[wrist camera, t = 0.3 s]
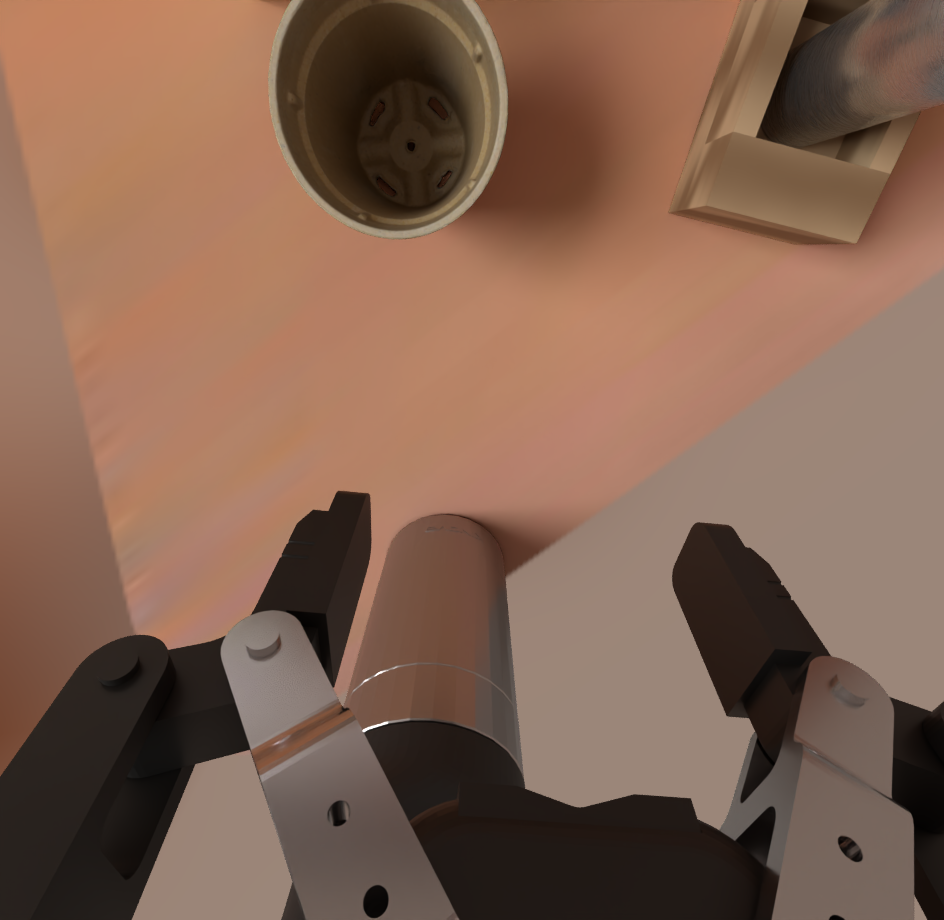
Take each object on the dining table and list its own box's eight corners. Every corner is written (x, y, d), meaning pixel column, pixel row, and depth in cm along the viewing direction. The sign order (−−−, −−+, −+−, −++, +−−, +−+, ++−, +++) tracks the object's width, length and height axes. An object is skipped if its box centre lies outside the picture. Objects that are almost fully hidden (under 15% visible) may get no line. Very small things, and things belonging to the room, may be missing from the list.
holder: (795, 244, 29) (856, 243, 24) (668, 212, 28) (706, 205, 24) (909, -14, 24) (1012, -76, 19) (760, -60, 23) (830, -135, 19)
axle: (821, 159, 25) (1235, 53, 12) (741, 138, 25) (1070, 2, 11) (867, 54, 24) (1421, -219, 10) (782, 29, 23) (1231, -290, 9)
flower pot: (521, 77, 26) (542, 1, 18) (471, 262, 29) (470, 267, 21) (345, 13, 25) (284, -98, 17) (316, 213, 28) (255, 199, 20)
